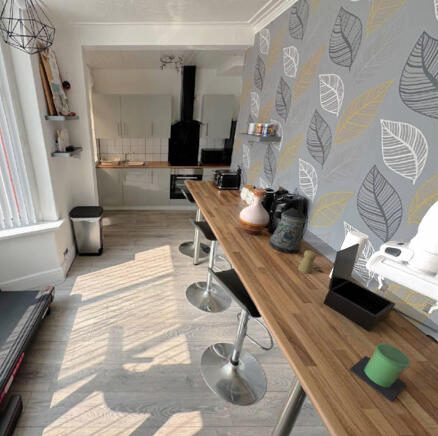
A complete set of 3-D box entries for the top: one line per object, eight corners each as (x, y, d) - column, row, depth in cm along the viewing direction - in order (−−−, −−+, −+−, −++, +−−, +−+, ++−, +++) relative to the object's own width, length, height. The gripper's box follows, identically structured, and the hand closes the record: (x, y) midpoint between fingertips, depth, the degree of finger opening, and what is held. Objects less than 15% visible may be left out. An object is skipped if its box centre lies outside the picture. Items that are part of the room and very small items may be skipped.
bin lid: (359, 244, 96) (357, 243, 97) (339, 252, 90) (336, 251, 90) (350, 279, 101) (348, 278, 102) (330, 289, 95) (328, 288, 95)
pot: (398, 382, 69) (414, 359, 65) (387, 393, 66) (404, 370, 62) (369, 361, 75) (383, 339, 71) (358, 371, 72) (372, 348, 68)
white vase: (237, 223, 171) (245, 183, 159) (263, 228, 165) (274, 187, 153) (236, 235, 154) (245, 191, 142) (265, 240, 148) (278, 195, 136)
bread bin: (386, 318, 92) (395, 303, 89) (367, 333, 86) (376, 317, 83) (342, 293, 105) (348, 279, 102) (322, 304, 98) (328, 289, 95)
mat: (406, 385, 69) (406, 384, 69) (391, 402, 65) (391, 401, 65) (365, 356, 77) (365, 355, 77) (349, 369, 73) (350, 368, 73)
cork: (299, 265, 125) (306, 247, 120) (312, 270, 121) (320, 252, 116) (296, 269, 121) (302, 251, 116) (309, 275, 117) (317, 256, 112)
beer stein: (271, 251, 137) (282, 211, 127) (266, 236, 154) (275, 200, 144) (302, 256, 133) (317, 215, 122) (294, 240, 150) (306, 204, 140)
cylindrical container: (333, 283, 111) (354, 237, 101) (326, 274, 118) (344, 230, 108) (350, 285, 110) (373, 239, 100) (341, 276, 117) (362, 231, 107)
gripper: (499, 278, 53) (464, 323, 58) (384, 238, 69) (365, 276, 75) (493, 286, 50) (456, 332, 56) (374, 243, 67) (355, 282, 72)
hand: (403, 300), depth 65 cm, fingers open, 8 cm apart
